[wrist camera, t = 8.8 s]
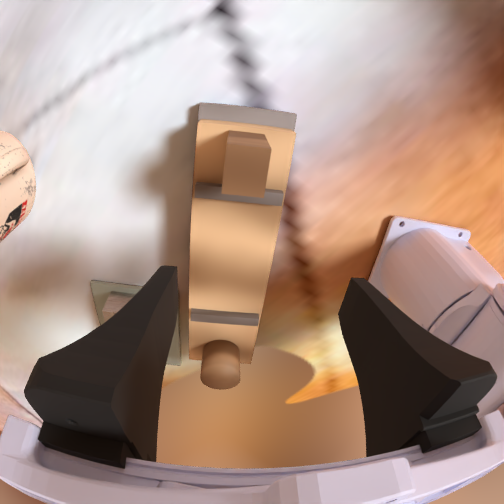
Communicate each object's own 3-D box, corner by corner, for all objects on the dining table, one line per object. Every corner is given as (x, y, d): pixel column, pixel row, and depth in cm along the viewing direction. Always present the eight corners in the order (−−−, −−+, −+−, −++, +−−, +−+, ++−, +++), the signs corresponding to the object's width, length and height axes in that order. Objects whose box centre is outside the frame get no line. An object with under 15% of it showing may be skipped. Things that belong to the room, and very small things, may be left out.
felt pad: (178, 290, 25) (177, 293, 25) (180, 362, 30) (180, 365, 30) (91, 280, 24) (90, 282, 24) (109, 352, 29) (109, 355, 29)
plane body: (201, 102, 18) (184, 112, 12) (294, 113, 18) (319, 128, 13) (189, 345, 29) (183, 401, 23) (250, 350, 30) (253, 405, 24)
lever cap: (111, 290, 24) (99, 315, 22) (154, 296, 25) (146, 322, 22) (124, 350, 29) (116, 374, 26) (160, 355, 29) (155, 380, 26)
